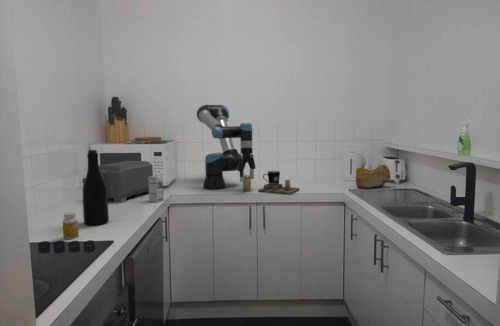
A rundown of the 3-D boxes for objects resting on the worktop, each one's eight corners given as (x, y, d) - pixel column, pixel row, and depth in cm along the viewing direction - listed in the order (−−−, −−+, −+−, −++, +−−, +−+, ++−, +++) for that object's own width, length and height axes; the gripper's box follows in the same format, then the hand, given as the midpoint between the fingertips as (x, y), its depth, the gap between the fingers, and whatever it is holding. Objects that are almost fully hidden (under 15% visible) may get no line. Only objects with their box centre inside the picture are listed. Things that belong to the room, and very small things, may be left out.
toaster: (90, 202, 210) (88, 166, 207) (130, 190, 242) (129, 160, 240) (117, 204, 203) (115, 167, 200) (155, 192, 235) (154, 161, 233)
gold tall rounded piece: (241, 191, 236) (241, 176, 235) (245, 190, 241) (245, 174, 240) (248, 192, 234) (248, 176, 233) (252, 190, 239) (252, 175, 237)
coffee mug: (280, 184, 259) (280, 170, 258) (280, 187, 251) (280, 172, 250) (263, 184, 260) (263, 170, 259) (263, 186, 252) (262, 172, 251)
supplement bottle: (60, 238, 144) (58, 214, 143) (71, 234, 149) (70, 211, 148) (70, 240, 142) (69, 215, 141) (81, 236, 147) (80, 212, 146)
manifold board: (258, 192, 234) (257, 180, 233) (268, 187, 248) (268, 176, 247) (290, 194, 224) (290, 182, 223) (299, 190, 238) (299, 178, 237)
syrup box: (157, 202, 206) (157, 176, 204) (149, 201, 208) (148, 176, 206) (163, 200, 211) (162, 175, 210) (155, 199, 213) (154, 175, 212)
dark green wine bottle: (96, 218, 172) (92, 148, 169) (114, 221, 168) (110, 149, 165) (78, 224, 163) (73, 150, 159) (96, 227, 159) (92, 151, 155)
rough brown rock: (381, 185, 259) (380, 164, 258) (393, 187, 242) (392, 164, 242) (349, 187, 256) (348, 165, 256) (359, 189, 240) (358, 166, 239)
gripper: (242, 148, 221) (243, 183, 224) (260, 146, 244) (260, 178, 246) (231, 148, 225) (232, 182, 227) (250, 146, 247) (250, 177, 249)
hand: (247, 180), depth 236 cm, fingers open, 13 cm apart
